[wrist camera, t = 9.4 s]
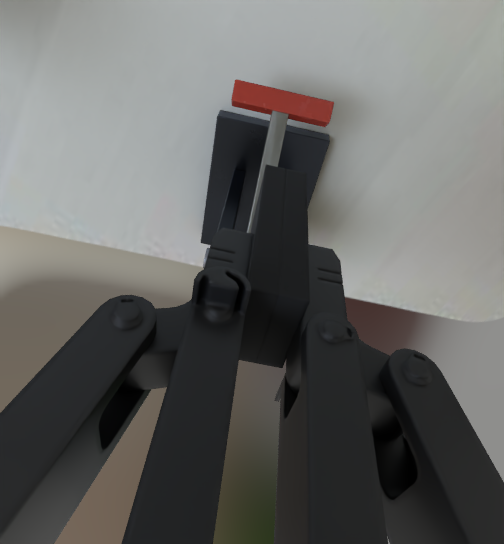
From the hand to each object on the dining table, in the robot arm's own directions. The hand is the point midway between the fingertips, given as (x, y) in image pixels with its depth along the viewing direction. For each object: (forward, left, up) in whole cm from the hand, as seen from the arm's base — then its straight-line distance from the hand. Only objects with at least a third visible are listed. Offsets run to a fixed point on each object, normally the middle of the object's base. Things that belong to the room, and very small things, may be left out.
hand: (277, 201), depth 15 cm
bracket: (+3, +9, -19) cm, 21 cm away
